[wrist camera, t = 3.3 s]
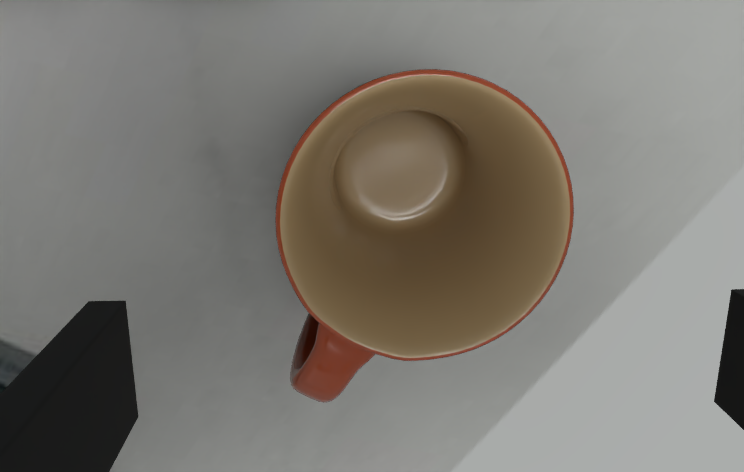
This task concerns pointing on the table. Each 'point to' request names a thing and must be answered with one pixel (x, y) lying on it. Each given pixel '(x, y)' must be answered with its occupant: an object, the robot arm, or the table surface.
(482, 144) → the mug
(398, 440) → the table surface
